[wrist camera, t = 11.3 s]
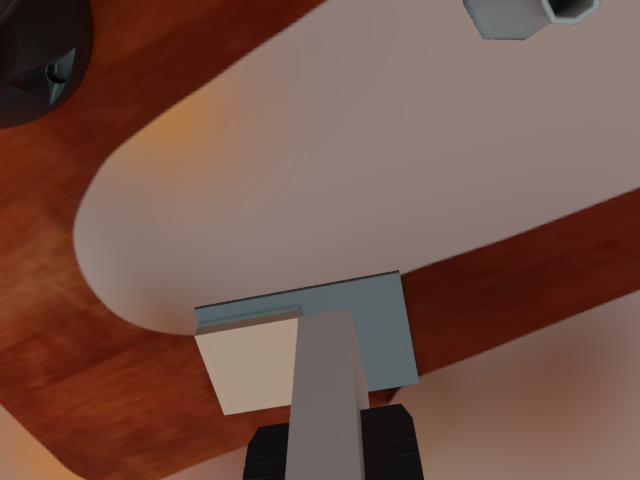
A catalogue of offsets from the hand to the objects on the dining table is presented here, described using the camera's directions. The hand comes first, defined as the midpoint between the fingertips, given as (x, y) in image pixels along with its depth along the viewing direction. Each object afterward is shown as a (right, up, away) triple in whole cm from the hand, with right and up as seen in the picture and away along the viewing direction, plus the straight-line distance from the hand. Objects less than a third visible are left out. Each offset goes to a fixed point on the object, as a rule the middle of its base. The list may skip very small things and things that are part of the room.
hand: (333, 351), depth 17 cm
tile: (-1, -7, +33) cm, 34 cm away
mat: (-1, -6, +35) cm, 35 cm away
